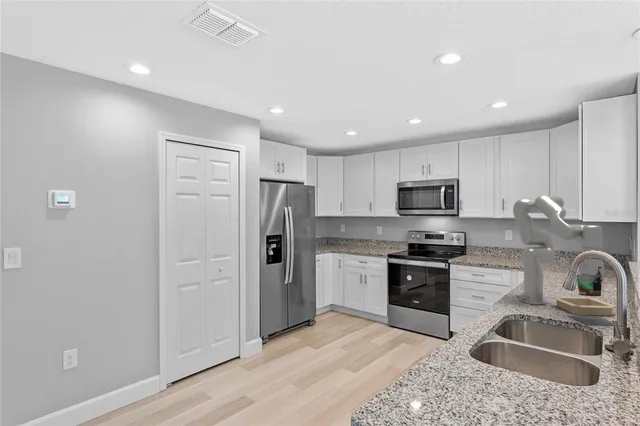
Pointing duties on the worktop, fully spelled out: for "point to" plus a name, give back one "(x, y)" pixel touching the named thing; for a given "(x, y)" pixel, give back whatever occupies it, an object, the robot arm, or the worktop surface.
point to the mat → (592, 320)
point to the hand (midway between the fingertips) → (592, 288)
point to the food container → (586, 285)
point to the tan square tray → (584, 305)
